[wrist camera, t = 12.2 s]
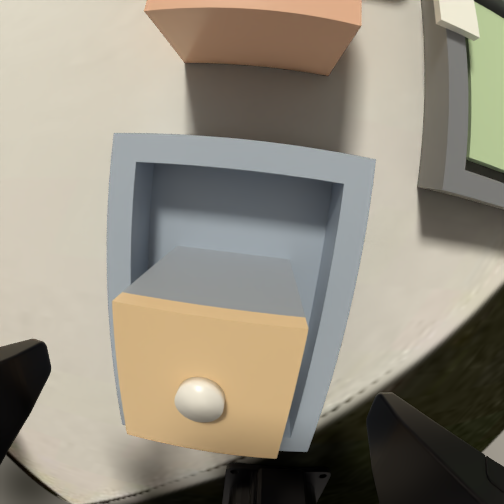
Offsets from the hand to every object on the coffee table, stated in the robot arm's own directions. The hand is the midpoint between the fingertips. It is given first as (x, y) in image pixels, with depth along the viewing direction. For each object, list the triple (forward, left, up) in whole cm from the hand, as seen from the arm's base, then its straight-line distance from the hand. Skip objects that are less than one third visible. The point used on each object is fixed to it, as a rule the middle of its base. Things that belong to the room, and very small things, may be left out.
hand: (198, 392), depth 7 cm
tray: (0, 0, -7) cm, 7 cm away
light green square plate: (+12, -13, -6) cm, 19 cm away
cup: (+13, 0, -7) cm, 14 cm away
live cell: (0, 0, -6) cm, 6 cm away
